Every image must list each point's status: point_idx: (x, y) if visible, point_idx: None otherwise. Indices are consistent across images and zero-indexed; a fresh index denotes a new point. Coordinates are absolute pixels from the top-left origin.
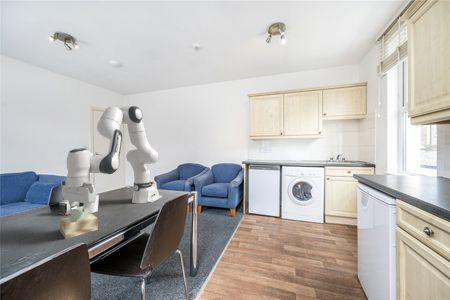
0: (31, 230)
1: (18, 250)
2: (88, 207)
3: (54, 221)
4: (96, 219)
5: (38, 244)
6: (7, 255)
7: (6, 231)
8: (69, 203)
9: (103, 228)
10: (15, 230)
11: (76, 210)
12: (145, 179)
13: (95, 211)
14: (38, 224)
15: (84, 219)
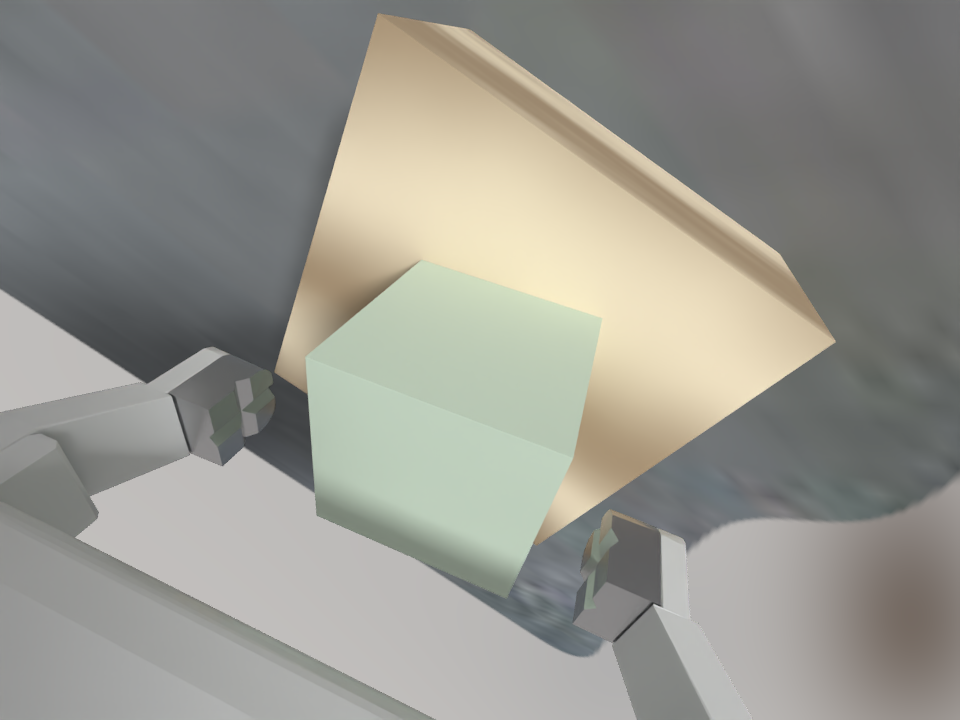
0: (147, 299)
1: None
2: (703, 634)
3: (29, 79)
4: (808, 344)
5: None
6: None
7: (51, 316)
8: (100, 481)
9: (866, 206)
10: (68, 302)
11: (484, 588)
12: None
13: None
14: (29, 182)
15: (599, 393)
